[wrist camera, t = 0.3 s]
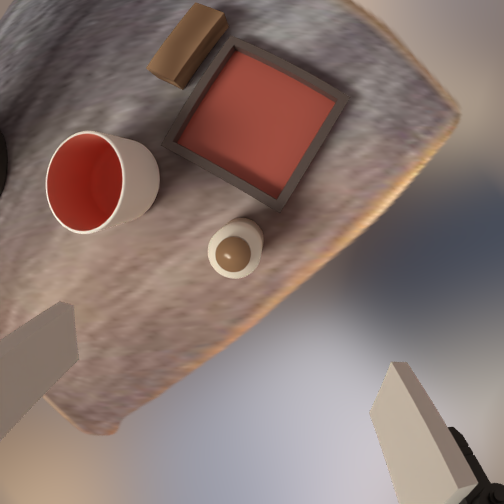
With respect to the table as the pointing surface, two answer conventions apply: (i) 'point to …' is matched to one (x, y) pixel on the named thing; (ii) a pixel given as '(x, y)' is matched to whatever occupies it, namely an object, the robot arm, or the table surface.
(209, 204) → the table surface
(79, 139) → the cup
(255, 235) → the ceramic jar
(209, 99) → the tray
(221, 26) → the box
